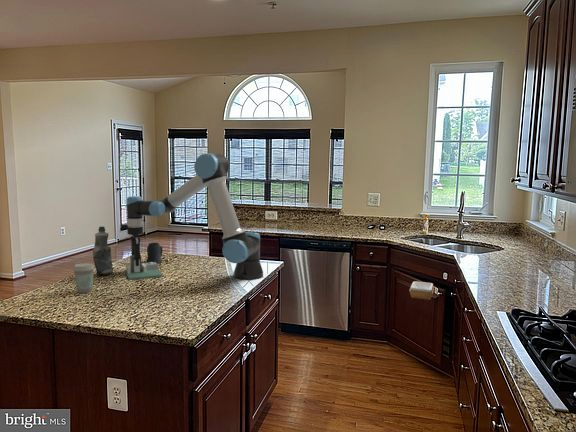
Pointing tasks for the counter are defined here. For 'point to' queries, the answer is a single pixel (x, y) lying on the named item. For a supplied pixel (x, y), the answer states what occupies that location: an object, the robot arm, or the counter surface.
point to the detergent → (102, 253)
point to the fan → (151, 265)
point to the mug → (154, 253)
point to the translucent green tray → (142, 273)
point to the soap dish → (421, 290)
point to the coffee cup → (84, 277)
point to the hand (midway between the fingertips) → (136, 270)
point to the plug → (133, 263)
